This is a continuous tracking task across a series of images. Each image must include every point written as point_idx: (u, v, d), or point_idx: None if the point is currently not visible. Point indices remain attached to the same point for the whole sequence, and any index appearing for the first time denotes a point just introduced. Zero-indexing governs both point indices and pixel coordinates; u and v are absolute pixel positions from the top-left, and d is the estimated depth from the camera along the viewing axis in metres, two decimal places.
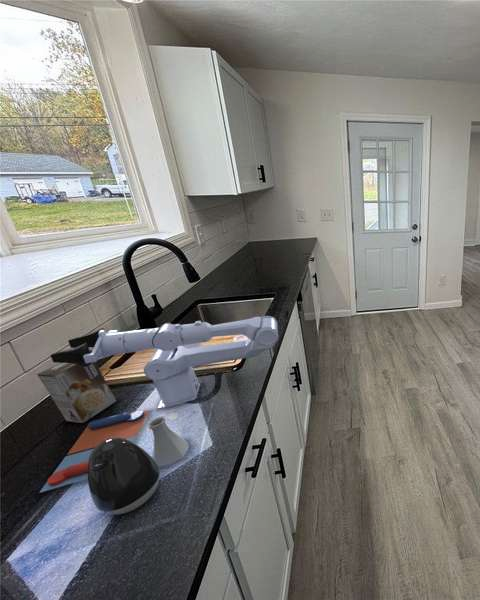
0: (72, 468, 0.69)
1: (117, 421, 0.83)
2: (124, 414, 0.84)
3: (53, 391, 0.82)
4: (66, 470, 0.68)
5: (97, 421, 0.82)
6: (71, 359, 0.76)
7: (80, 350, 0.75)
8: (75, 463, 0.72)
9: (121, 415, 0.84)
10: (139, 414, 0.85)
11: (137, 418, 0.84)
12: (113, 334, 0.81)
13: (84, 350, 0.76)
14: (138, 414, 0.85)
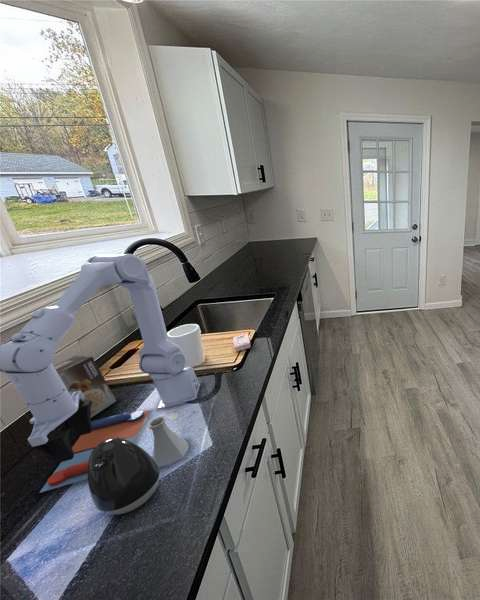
0: (72, 468, 0.69)
1: (117, 421, 0.83)
2: (124, 414, 0.84)
3: None
4: (66, 470, 0.68)
5: (97, 421, 0.82)
6: (62, 447, 0.63)
7: (31, 446, 0.59)
8: (75, 463, 0.72)
9: (121, 415, 0.84)
10: (139, 414, 0.85)
11: (137, 418, 0.84)
12: None
13: None
14: (138, 414, 0.85)
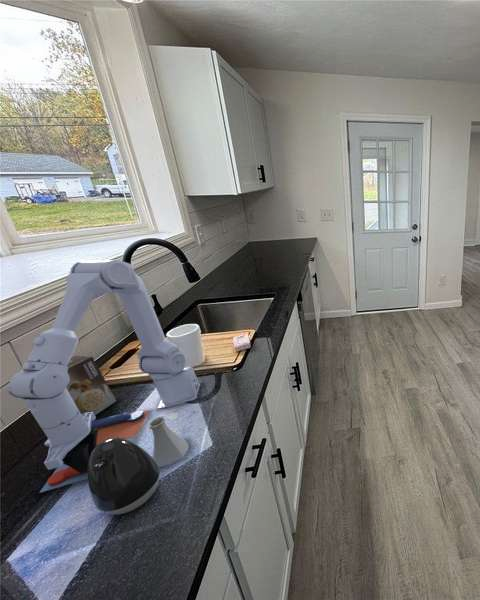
0: (72, 468, 0.69)
1: (117, 421, 0.83)
2: (124, 414, 0.84)
3: None
4: (66, 470, 0.68)
5: (97, 421, 0.82)
6: (82, 459, 0.67)
7: None
8: None
9: (121, 415, 0.84)
10: (139, 414, 0.85)
11: (137, 418, 0.84)
12: None
13: None
14: (138, 414, 0.85)
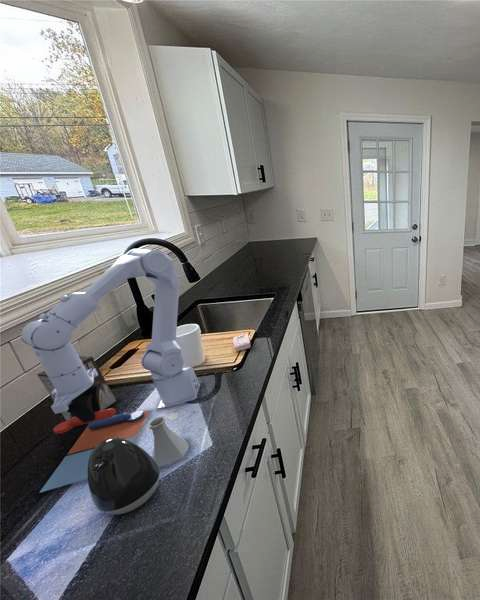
0: (76, 418, 0.74)
1: (117, 421, 0.83)
2: (124, 414, 0.84)
3: None
4: (70, 420, 0.73)
5: (97, 421, 0.82)
6: (86, 409, 0.73)
7: None
8: (75, 463, 0.72)
9: (121, 415, 0.84)
10: (139, 414, 0.85)
11: (137, 418, 0.84)
12: None
13: None
14: (138, 414, 0.85)
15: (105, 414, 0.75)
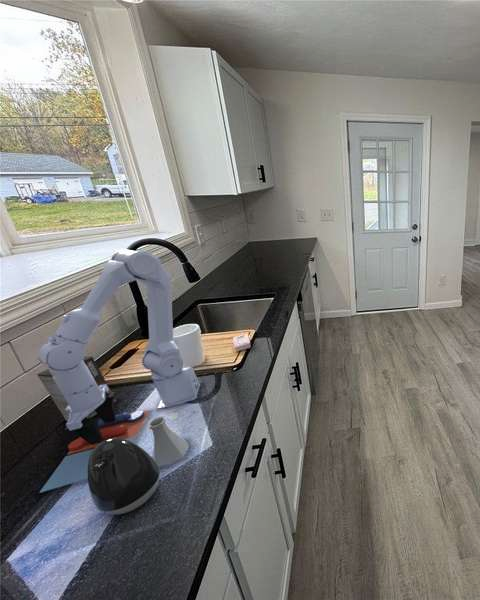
0: None
1: (117, 421, 0.83)
2: (124, 414, 0.84)
3: (53, 391, 0.82)
4: None
5: None
6: (93, 432, 0.74)
7: (68, 430, 0.70)
8: (75, 463, 0.72)
9: (121, 415, 0.84)
10: (139, 414, 0.85)
11: (137, 418, 0.84)
12: None
13: None
14: (138, 414, 0.85)
15: (117, 432, 0.79)
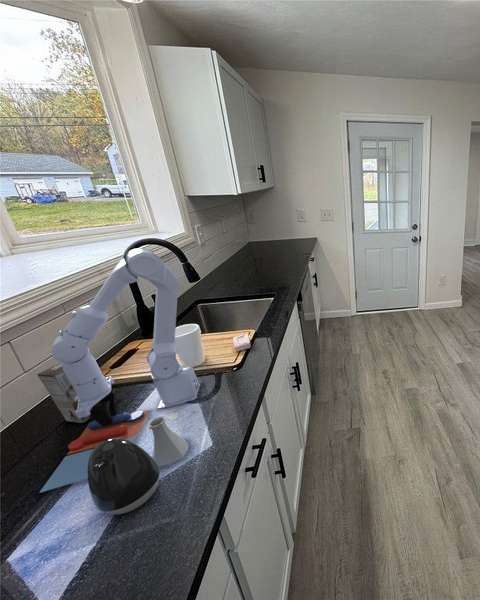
0: (90, 436, 0.77)
1: (117, 421, 0.83)
2: (124, 414, 0.84)
3: (53, 391, 0.82)
4: (84, 437, 0.77)
5: None
6: (104, 414, 0.81)
7: None
8: (75, 463, 0.72)
9: (121, 415, 0.84)
10: (139, 414, 0.85)
11: (137, 418, 0.84)
12: None
13: None
14: (138, 414, 0.85)
15: (117, 432, 0.79)
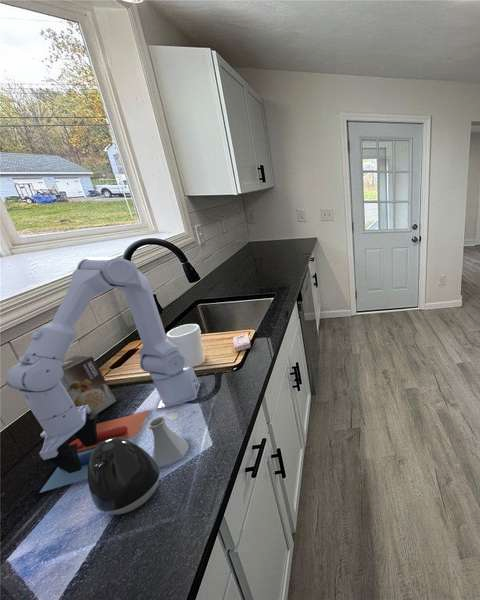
0: None
1: None
2: None
3: None
4: None
5: None
6: (71, 459, 0.67)
7: (42, 459, 0.63)
8: None
9: None
10: None
11: None
12: None
13: None
14: None
15: (117, 432, 0.79)
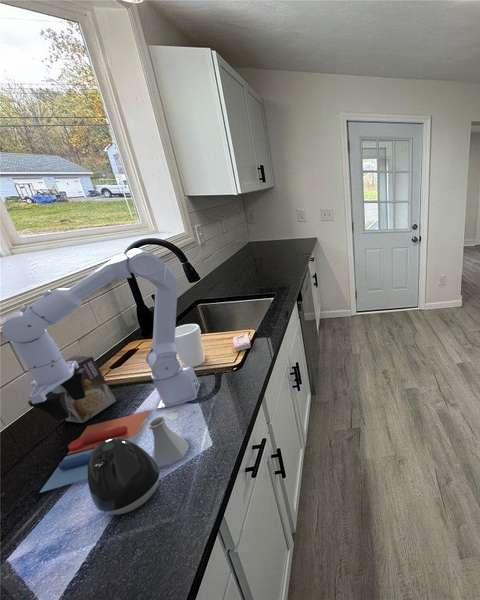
0: (90, 436, 0.77)
1: None
2: None
3: (53, 391, 0.82)
4: (84, 437, 0.77)
5: (69, 460, 0.71)
6: (59, 407, 0.72)
7: (31, 404, 0.68)
8: None
9: None
10: None
11: None
12: None
13: None
14: None
15: (117, 432, 0.79)
